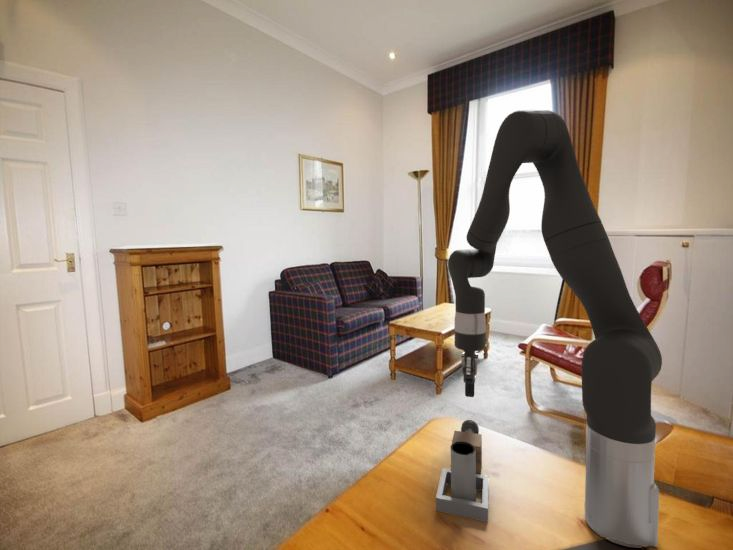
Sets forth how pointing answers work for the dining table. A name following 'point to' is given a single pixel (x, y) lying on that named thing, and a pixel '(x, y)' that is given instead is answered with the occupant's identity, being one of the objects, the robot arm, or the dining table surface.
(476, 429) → the shaft
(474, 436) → the guide block
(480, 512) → the grey open frame
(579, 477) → the dining table surface
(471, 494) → the grey cylinder
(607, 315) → the robot arm
